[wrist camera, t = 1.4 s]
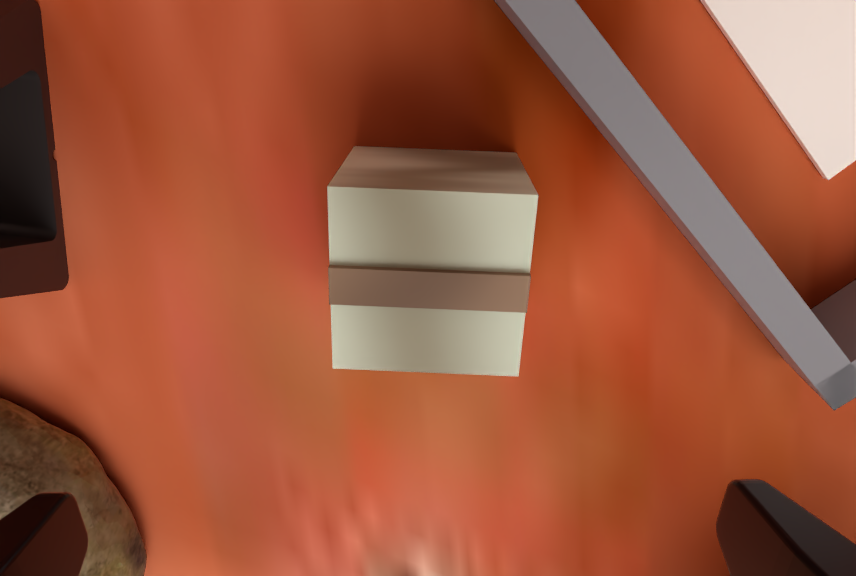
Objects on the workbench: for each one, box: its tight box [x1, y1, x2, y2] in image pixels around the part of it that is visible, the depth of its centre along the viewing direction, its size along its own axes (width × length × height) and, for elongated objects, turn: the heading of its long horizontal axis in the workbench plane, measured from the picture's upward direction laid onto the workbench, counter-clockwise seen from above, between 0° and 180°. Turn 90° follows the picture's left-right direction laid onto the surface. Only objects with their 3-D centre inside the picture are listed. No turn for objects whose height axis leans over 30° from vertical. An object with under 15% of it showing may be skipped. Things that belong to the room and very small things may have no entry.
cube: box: [327, 146, 538, 376], centre depth 18 cm, size 5×5×5 cm
